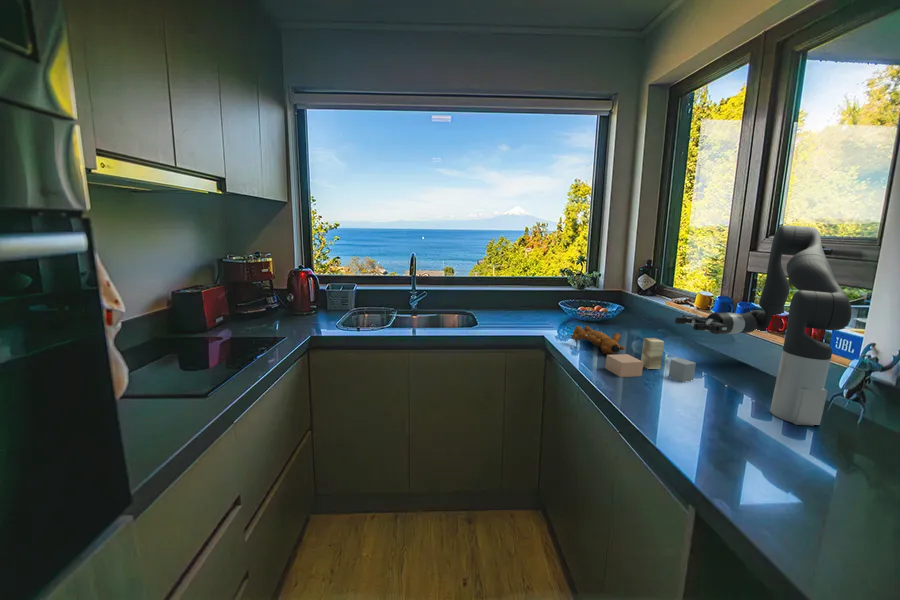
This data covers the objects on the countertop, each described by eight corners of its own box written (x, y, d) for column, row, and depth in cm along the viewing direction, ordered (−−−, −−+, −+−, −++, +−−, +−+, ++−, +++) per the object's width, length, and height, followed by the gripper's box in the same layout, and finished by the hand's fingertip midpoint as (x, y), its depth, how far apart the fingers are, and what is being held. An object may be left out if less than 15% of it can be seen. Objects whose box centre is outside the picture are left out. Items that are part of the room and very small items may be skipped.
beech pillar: (660, 369, 136) (664, 341, 134) (648, 369, 135) (652, 341, 133) (651, 365, 140) (655, 337, 139) (640, 365, 140) (643, 337, 138)
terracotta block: (641, 376, 129) (643, 362, 128) (620, 377, 127) (622, 362, 126) (625, 368, 137) (627, 354, 136) (605, 368, 135) (606, 354, 134)
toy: (559, 339, 174) (590, 358, 145) (560, 323, 173) (592, 339, 144) (602, 339, 176) (641, 359, 147) (603, 324, 175) (643, 340, 146)
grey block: (693, 380, 127) (696, 363, 126) (682, 382, 125) (685, 364, 124) (678, 375, 131) (681, 358, 130) (668, 377, 129) (671, 359, 128)
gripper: (710, 308, 146) (671, 308, 143) (745, 317, 132) (702, 318, 130) (707, 328, 148) (668, 328, 145) (741, 339, 134) (699, 340, 131)
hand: (684, 323), depth 137 cm, fingers open, 8 cm apart
